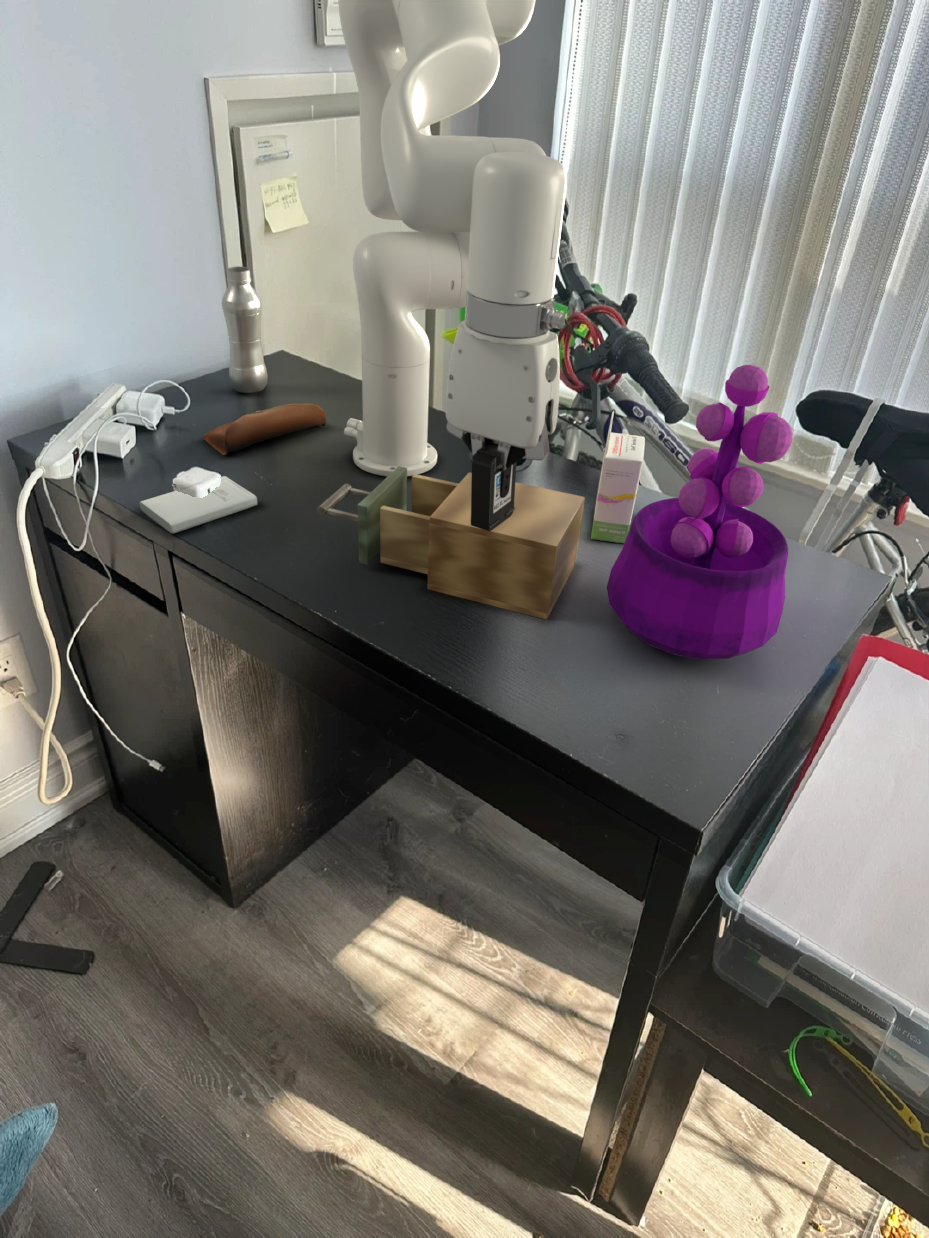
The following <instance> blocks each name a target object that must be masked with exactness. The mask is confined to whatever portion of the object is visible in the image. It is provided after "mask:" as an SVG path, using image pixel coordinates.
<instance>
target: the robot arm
mask: <svg viewBox="0 0 929 1238" xmlns="http://www.w3.org/2000/svg"><path fill="white" fill-rule="evenodd" d="M337 3H338V14H339V23H340V27H341V31H342V32H341V33H342V37H343V40H344V44H345V48H346V50H347V54H348V57H349V60H350V63H351V67H352V69H353V73H354V77H355V82H356V86H357V90H358V91H357V92H358V99H359V100H358V102H359V131H360V132H359V134H360V135H359V136H360V137H359V138H360V167H361V168H360V169H361V185H362V187H361V188H362V196H363V199H364V200H363V201H364V204H365V207H366V208H367V211H369V213H370V214H371V215H373V216H374V217H376V218H379V219H382V220H389V221H401V222H402V223H403V224H405V226H406V227H408V228H409V229H410V230H414V231H384V232H377V233H372V234H370V235H368V236H366V237H364V238H363V239H361V240H360V241H359V242H358V244H357V245H356V247H355V249H354V251H353V255H352V256H353V257H352V270H353V279H354V285H355V291H356V298H357V302H358V311H359V322H360V323H359V324H360V341H361V343H360V344H361V345H360V348H361V392H362V393H361V394H362V399H361V400H362V420H360V419H356V418H353V417H350V418H348V420H347V421H346V427H345V428H344V430H343V435H344V436H345V437H348V438H351V439H355V440H356V445H355V447H354V448H353V451H352V460H353V462H354V464H355V465H356V466H357V467H358V468H360V469H361V470H363V471H365V472H367V473H369V474H371V475H376V476H381V477H388V476H389V475H390V474H391V473H392V472H393V471H394V470H395V469H396V468H397V467H398V466H400V467H404V468H407V477H412V476H413V475H414V474H417V475H421V474H424V473H426V472H429V471H430V470H432V469H433V468H434V467H435V466H436V465H437V463H438V451H437V450H436V447H434V446H433V445H431V444H430V443H429V442H428V429H429V428H428V427H429V395H430V394H429V393H430V366H431V365H430V360H431V344H430V340H429V337H428V334H427V333H426V331H425V329H424V328H423V327H422V326H421V325H420V324H419V322H418V321H417V320H416V319H415V318H414V316H413V312H415V311H423V310H451V309H452V310H453V309H464V308H465V313H464V320H461V322H459V324H458V327H457V330H456V334H455V337H454V341H453V345H452V349H451V353H450V359H449V365H448V371H447V380H446V387H445V399H444V400H445V403H444V405H445V406H444V410H445V411H444V412H445V419H446V421H447V422H446V426H445V428H446V429H445V430H446V431H447V433H449V434H451V435H452V436H454V437H456V438H457V439H459V440H461V441H463V443H464V444H465V446H466V447H467V449H468V450H469V451H470V453H471V459H472V460H473V455H474V454H475V453H476V452H477V450H479V449H481V450H483V449H485V446H486V445H488V444H489V443H490V442H491V441H492V442H494V441H498V442H499V445H498V449H497V454H499V462H500V463H499V470H498V472H501V485H500V497H501V498H504V497H506V496H507V494H508V492H509V488H510V478H511V469H512V465H513V464H515V463H516V464H517V463H518V462H519V461H521V460H526V461H542V460H544V459H545V458H546V457H548V456H549V455H550V441H549V436H550V435H552V434H554V433H555V431H556V428H557V424H558V415H559V403H560V387H561V386H560V384H561V382H560V381H561V367H560V364H561V361H560V347H559V346H560V345H559V338H558V334H557V333H556V332H553V331H550V330H553V329H558V330H561V329H562V328H563V327H564V325H565V322H566V314H565V312H561V311H558V309H556V308H555V303H556V299H555V298H554V292H555V284H556V276H557V268H558V260H559V259H558V258H559V250H560V242H561V235H562V234H561V233H562V227H563V218H564V209H565V201H566V193H567V174H566V173H567V172H566V169H565V168H564V166H563V165H562V163H561V162H560V161H559V160H557V159H555V158H553V157H551V156H548V155H547V154H546V152H545V150H544V149H543V147H541V146H540V145H539V144H538V143H537V142H535V141H532V140H529V139H527V138H520V137H519V138H517V137H488V136H481V135H480V136H479V135H478V136H477V135H476V136H475V135H474V136H473V135H449V134H448V135H447V134H446V135H442V134H441V135H440V134H439V135H438V134H437V135H433V134H432V131H431V125H433V124H437V123H439V122H441V121H444V120H445V119H448V118H450V117H452V116H455V115H456V114H458V113H461V112H462V111H465V110H467V109H469V108H470V107H472V106H473V105H475V104H477V103H478V102H479V101H480V100H481V99H482V98H483V97H485V96H486V95H487V93H488V92H489V91H490V90H491V88H492V87H493V85H494V83H495V81H496V79H497V76H498V73H499V70H500V65H501V54H500V53H501V52H500V48H499V47H500V46H501V45H504V44H506V43H509V42H511V41H513V40H515V39H517V37H519V36H520V35H522V33H523V32H524V31H525V30H526V29H527V27H528V25H529V23H530V22H531V19H532V16H533V14H534V10H535V5H536V0H337Z"/></svg>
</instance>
